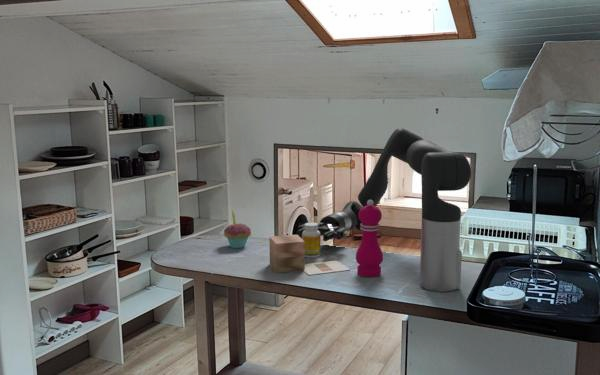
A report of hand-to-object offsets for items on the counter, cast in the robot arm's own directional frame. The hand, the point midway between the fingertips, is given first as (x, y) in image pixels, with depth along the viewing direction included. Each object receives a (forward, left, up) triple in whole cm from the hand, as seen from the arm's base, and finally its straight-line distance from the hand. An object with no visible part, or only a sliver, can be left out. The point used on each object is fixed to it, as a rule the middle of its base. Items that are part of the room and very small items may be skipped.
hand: (311, 236), depth 164 cm
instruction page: (-3, +12, -6) cm, 14 cm away
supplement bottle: (0, 0, -6) cm, 6 cm away
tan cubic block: (+7, +11, -6) cm, 14 cm away
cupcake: (+23, -11, -6) cm, 26 cm away
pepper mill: (-15, +17, -6) cm, 23 cm away
